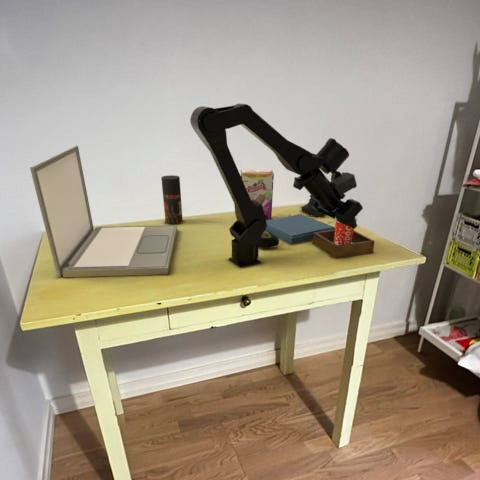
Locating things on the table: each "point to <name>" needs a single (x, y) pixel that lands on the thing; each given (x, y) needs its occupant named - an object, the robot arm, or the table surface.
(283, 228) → the blue square platform
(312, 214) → the gaming mouse
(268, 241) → the tape measure
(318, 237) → the open box
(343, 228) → the beverage cup
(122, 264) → the laptop
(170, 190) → the deodorant
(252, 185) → the candy bar box
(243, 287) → the table surface
